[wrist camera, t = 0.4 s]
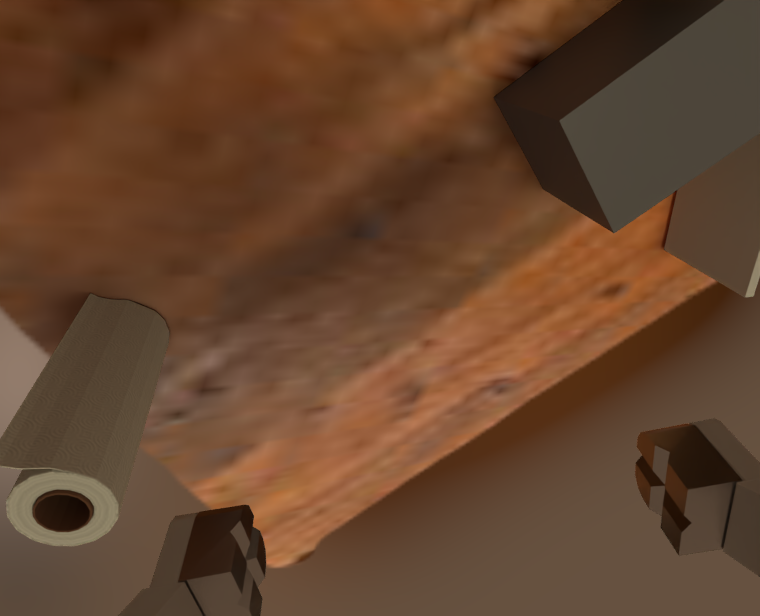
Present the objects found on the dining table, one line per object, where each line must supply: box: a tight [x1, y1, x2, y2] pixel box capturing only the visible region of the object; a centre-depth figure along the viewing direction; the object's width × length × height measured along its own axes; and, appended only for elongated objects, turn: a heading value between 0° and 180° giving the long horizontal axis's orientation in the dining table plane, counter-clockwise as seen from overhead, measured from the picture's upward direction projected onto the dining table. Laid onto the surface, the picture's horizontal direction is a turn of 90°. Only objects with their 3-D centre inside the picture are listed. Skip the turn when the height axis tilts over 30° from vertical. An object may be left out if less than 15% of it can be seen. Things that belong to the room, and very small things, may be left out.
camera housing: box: [494, 0, 760, 233], centre depth 43 cm, size 18×10×12 cm, turn 125°
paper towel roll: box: [0, 293, 169, 546], centre depth 41 cm, size 7×6×21 cm
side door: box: [664, 133, 760, 297], centre depth 48 cm, size 16×1×11 cm, turn 2°
